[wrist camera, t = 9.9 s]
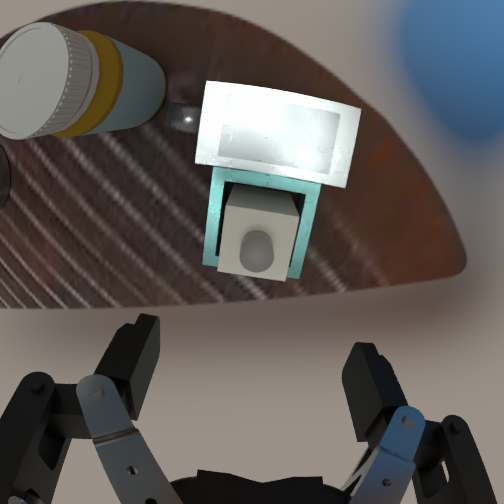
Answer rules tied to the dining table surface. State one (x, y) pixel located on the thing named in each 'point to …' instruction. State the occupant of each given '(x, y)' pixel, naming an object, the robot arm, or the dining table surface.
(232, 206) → the white cube with peg
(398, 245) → the dining table surface
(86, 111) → the bottle
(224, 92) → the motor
